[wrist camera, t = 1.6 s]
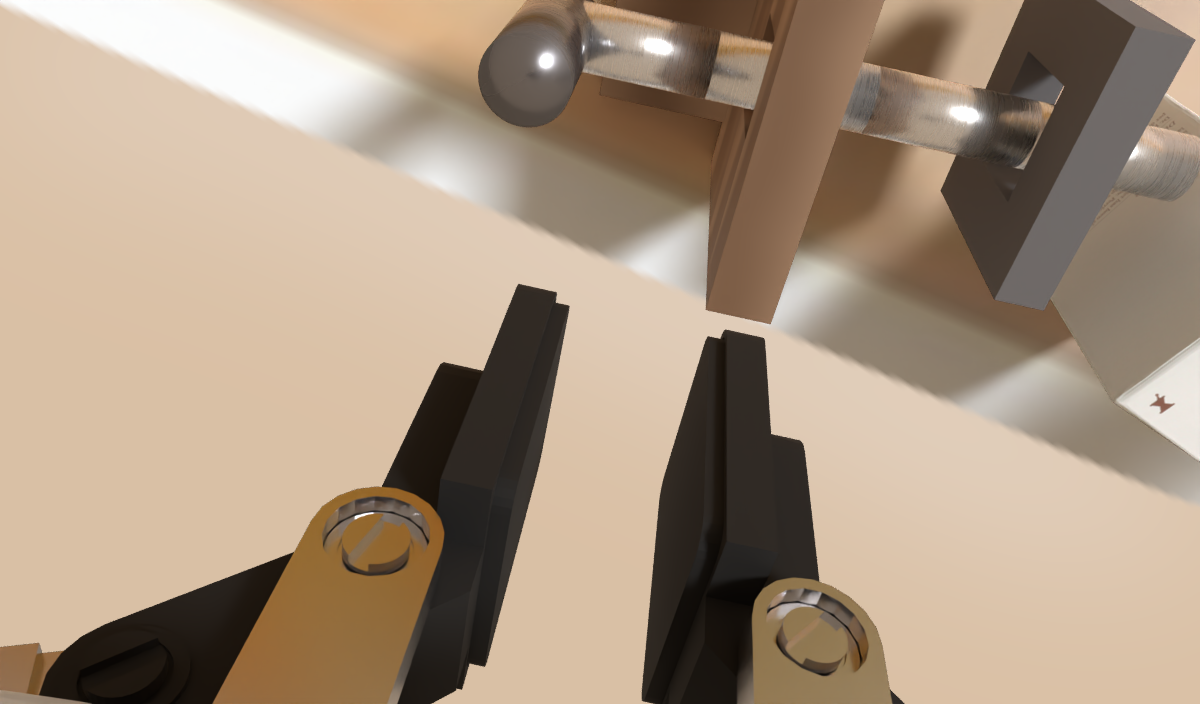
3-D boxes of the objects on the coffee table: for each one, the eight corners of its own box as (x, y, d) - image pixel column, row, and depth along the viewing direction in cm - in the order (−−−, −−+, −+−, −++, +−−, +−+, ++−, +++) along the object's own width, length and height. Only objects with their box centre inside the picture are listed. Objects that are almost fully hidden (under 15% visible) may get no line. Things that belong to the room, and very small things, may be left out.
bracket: (859, -158, 30) (924, -115, 20) (758, 170, 36) (770, 324, 27) (655, -203, 30) (620, -183, 20) (593, 134, 36) (543, 274, 27)
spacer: (1086, -27, 28) (1195, 39, 22) (980, 199, 33) (1043, 310, 26) (1040, -37, 28) (1135, 26, 22) (940, 190, 33) (994, 300, 26)
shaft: (1187, 119, 27) (1291, 201, 22) (1145, 191, 28) (1234, 284, 23) (528, -27, 27) (483, 22, 22) (518, 52, 28) (474, 116, 23)
